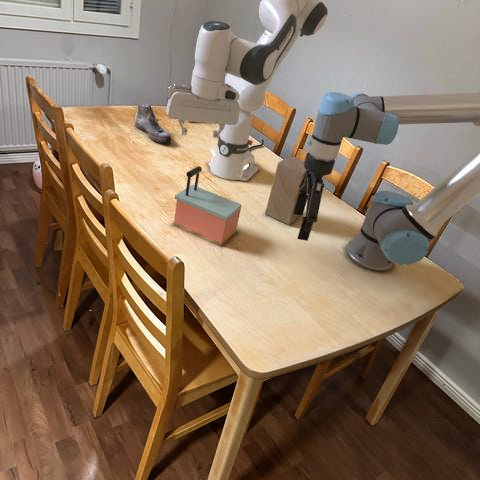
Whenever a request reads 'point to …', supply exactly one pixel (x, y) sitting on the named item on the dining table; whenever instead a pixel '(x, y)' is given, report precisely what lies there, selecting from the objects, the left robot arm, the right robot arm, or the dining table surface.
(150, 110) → the shoe
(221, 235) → the chest
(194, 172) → the lid
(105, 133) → the dining table surface
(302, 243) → the dining table surface
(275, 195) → the wooden block
